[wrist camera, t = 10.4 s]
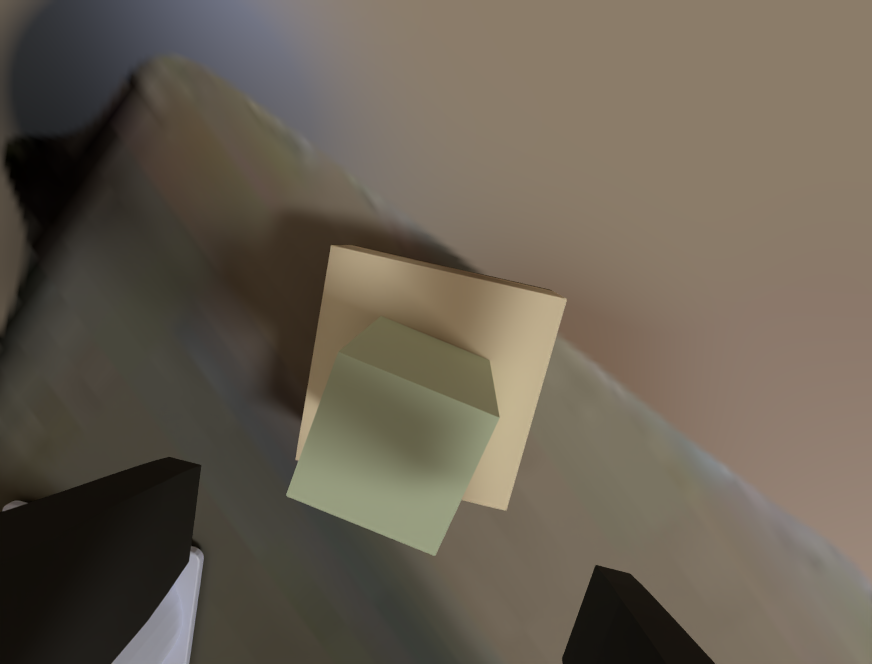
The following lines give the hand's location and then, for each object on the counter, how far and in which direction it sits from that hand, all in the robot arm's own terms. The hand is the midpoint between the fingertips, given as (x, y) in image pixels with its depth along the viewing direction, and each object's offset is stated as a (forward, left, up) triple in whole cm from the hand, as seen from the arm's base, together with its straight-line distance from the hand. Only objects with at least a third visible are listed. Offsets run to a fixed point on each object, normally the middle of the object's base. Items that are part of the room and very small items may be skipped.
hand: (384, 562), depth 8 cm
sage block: (0, 0, -8) cm, 8 cm away
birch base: (0, +1, -11) cm, 11 cm away
